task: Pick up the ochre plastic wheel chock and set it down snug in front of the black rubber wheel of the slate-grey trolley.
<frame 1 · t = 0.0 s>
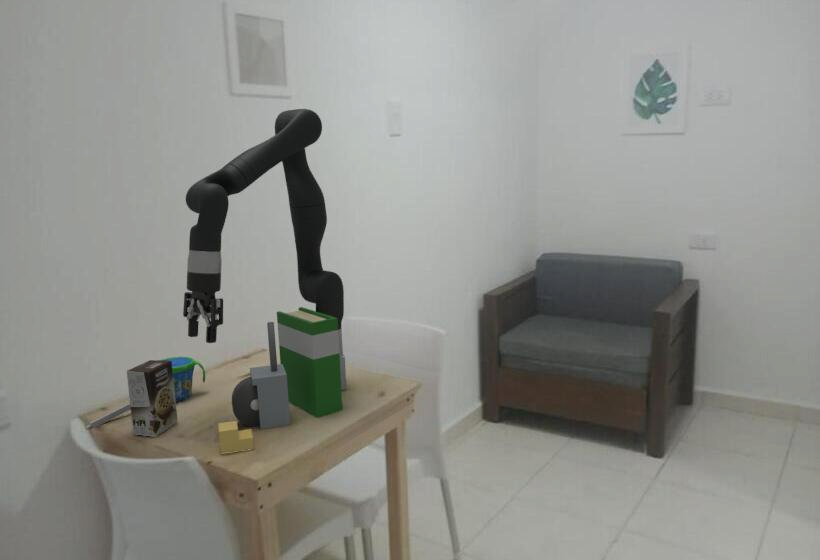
hand: (201, 339, 155), 22 cm above the table, tool pointing down, fingers open, 8 cm apart
chock: (237, 448, 149), on the table
caliper: (126, 417, 170), on the table
hardback book: (312, 405, 173), on the table
snack cup: (177, 398, 182), on the table
coffee box: (156, 429, 161), on the table
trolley: (267, 420, 163), on the table
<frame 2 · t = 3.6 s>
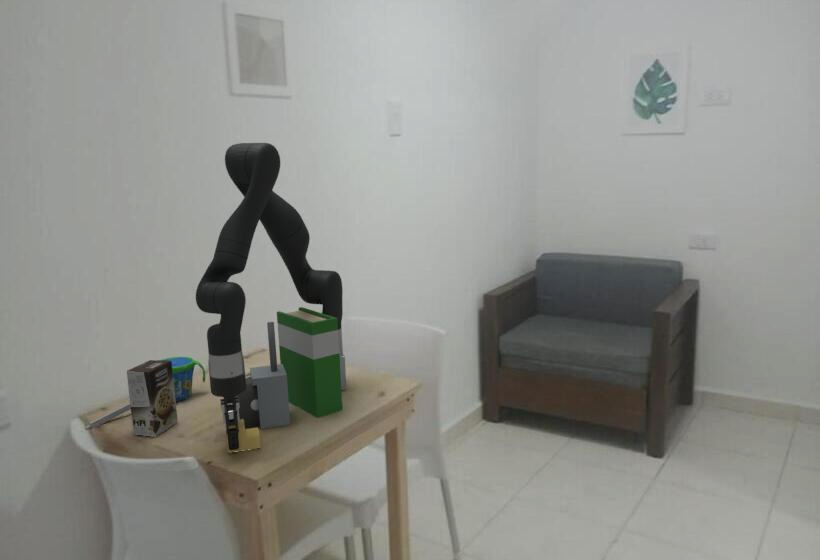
hand: (233, 443, 148), 1 cm above the table, tool pointing down, fingers closed on chock, 5 cm apart
chock: (244, 446, 149), on the table, touching gripper
everything else where it was.
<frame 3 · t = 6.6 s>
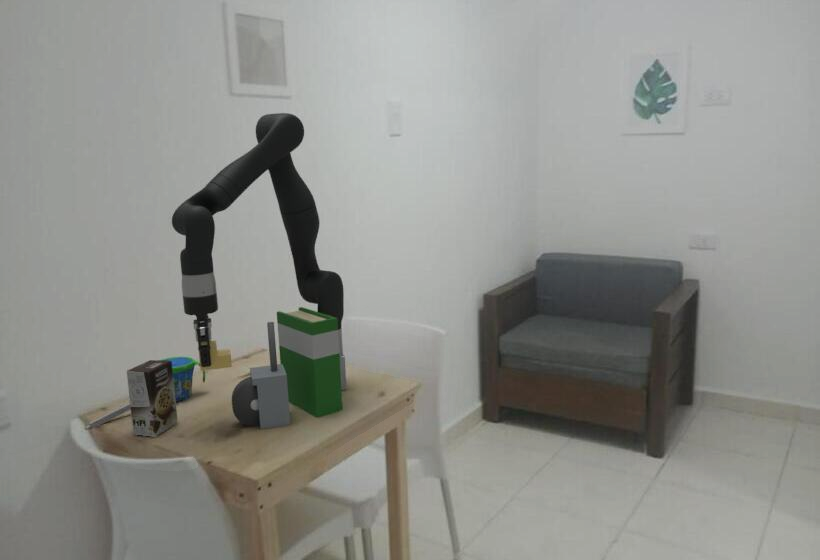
hand: (206, 362, 156), 17 cm above the table, tool pointing down, fingers closed on chock, 5 cm apart
chock: (216, 365, 157), point 16 cm above the table, touching gripper
everything else where it was.
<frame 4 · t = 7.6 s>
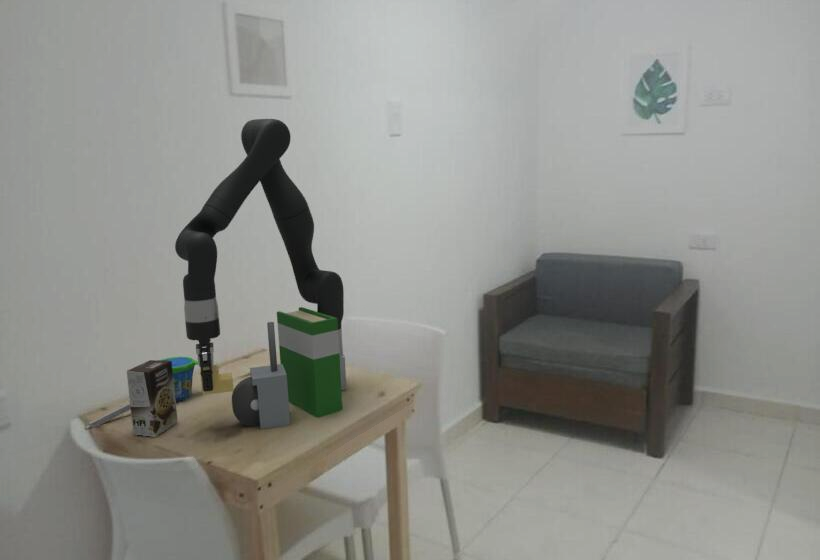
hand: (208, 386, 157), 11 cm above the table, tool pointing down, fingers closed on chock, 5 cm apart
chock: (218, 389, 158), point 10 cm above the table, touching gripper
everything else where it was.
when the fingers open (2 cm above the table, at t = 9.9 s): chock drops 2 cm, on the table.
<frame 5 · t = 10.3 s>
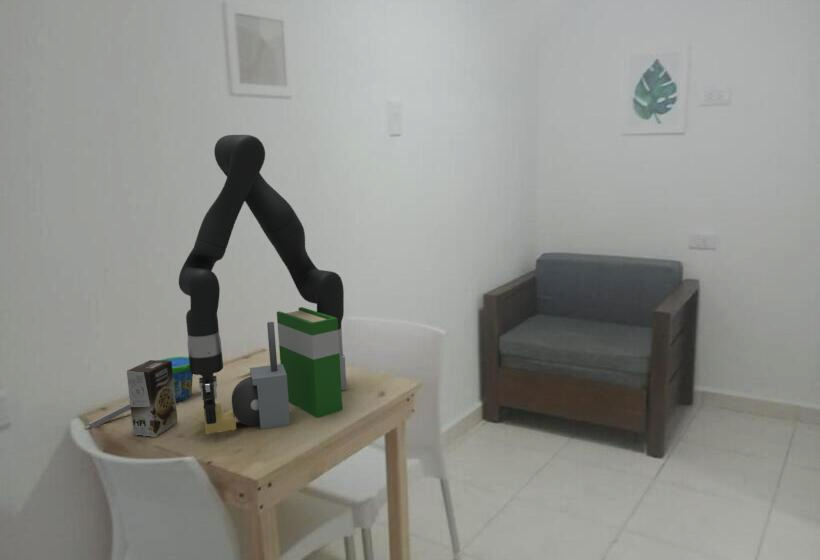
hand: (211, 416, 159), 3 cm above the table, tool pointing down, fingers open, 8 cm apart
chock: (221, 428, 160), on the table
everything else where it was.
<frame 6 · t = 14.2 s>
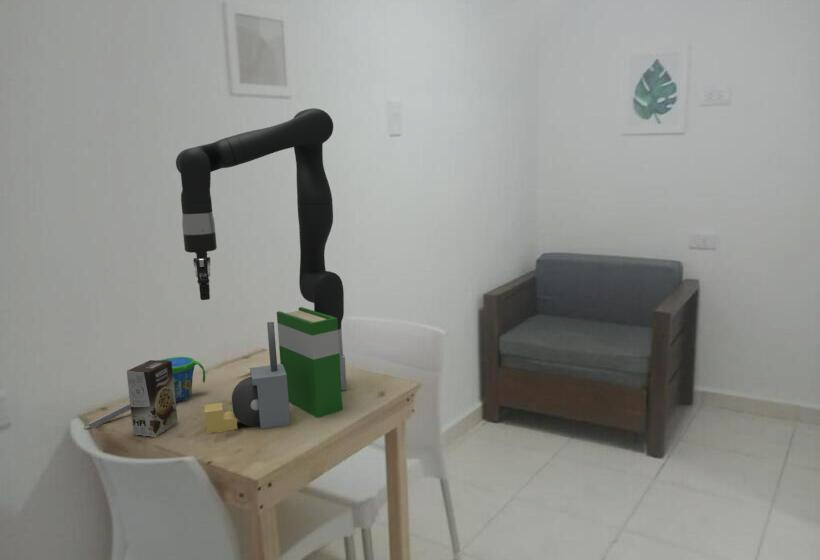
hand: (205, 296, 165), 30 cm above the table, tool pointing down, fingers open, 8 cm apart
nothing on the table moved.
at the end: chock 2.0 cm from the target spot, on the table; chock tilted 0°; the gripper is holding nothing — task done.
